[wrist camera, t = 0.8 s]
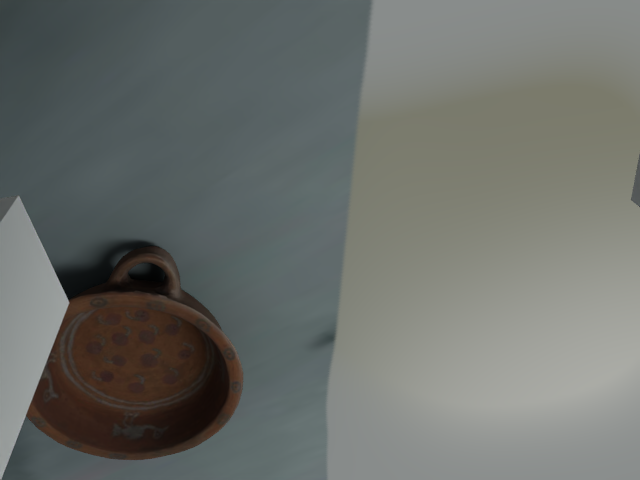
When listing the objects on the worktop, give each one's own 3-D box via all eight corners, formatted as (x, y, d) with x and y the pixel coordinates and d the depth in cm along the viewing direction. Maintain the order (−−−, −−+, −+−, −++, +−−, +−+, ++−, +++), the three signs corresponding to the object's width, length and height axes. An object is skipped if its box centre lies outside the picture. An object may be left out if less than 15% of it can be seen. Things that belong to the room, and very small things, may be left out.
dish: (37, 430, 53) (20, 478, 48) (17, 223, 42) (-7, 261, 37) (229, 434, 56) (228, 478, 52) (257, 244, 45) (259, 281, 41)
